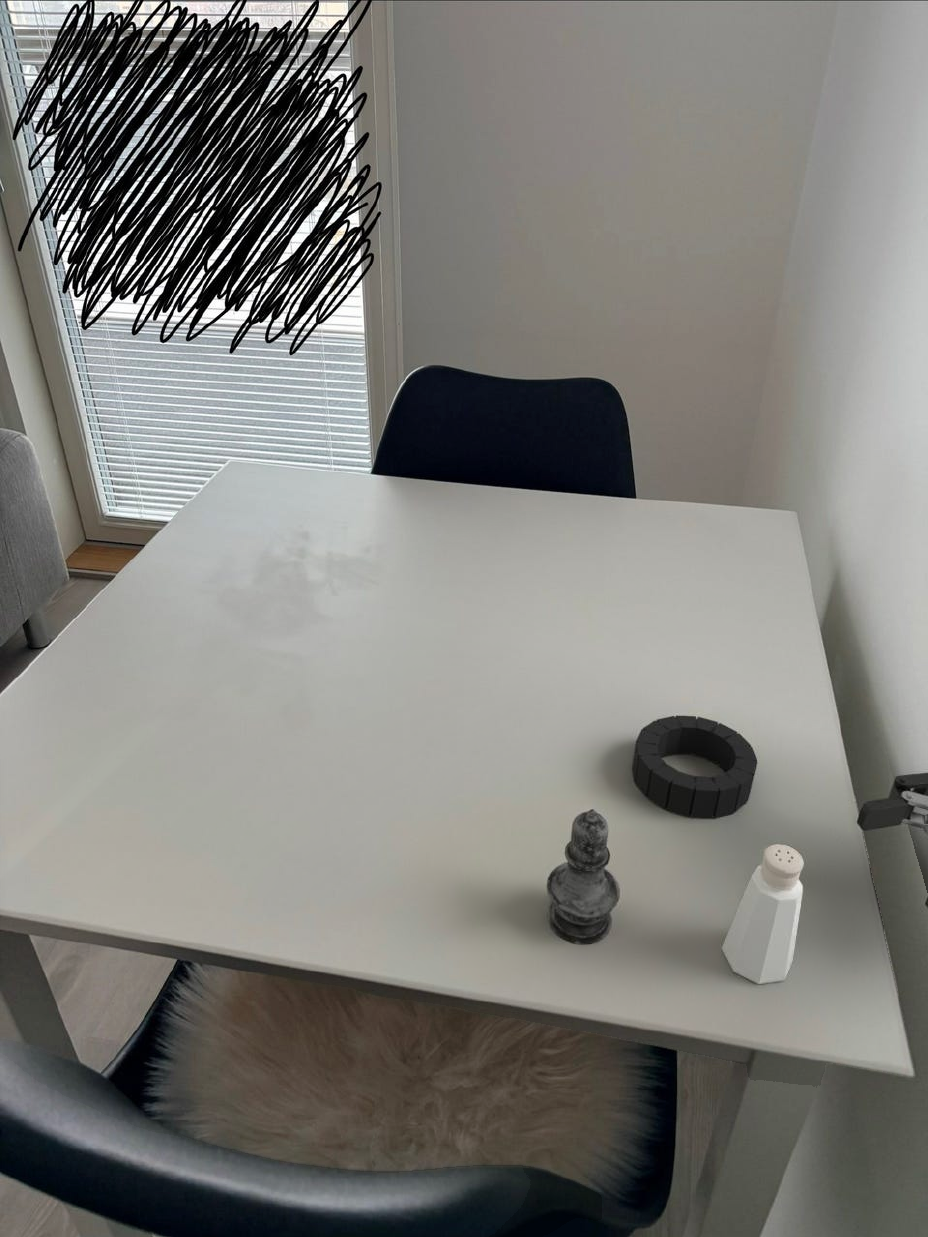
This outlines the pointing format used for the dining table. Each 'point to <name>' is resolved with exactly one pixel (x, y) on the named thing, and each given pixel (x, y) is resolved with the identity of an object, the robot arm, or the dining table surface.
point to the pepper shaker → (767, 918)
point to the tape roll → (687, 790)
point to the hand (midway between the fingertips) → (894, 857)
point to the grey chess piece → (583, 884)
